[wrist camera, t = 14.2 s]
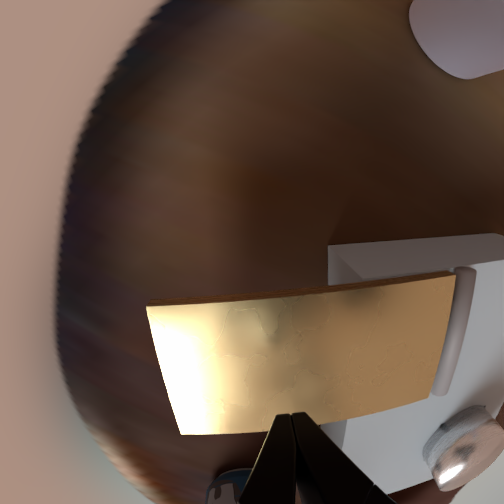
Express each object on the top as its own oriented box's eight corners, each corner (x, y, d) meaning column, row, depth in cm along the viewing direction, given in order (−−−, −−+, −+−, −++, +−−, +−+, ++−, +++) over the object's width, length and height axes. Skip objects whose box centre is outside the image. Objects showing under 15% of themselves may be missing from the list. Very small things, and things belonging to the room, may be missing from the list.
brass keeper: (423, 390, 12) (428, 397, 11) (182, 424, 11) (181, 434, 11) (447, 270, 10) (456, 274, 10) (150, 299, 10) (146, 306, 9)
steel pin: (443, 407, 18) (487, 471, 11) (390, 423, 18) (428, 500, 11) (460, 357, 17) (520, 422, 10) (403, 373, 17) (457, 455, 10)
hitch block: (446, 425, 19) (475, 469, 14) (317, 458, 19) (330, 518, 14) (494, 232, 15) (559, 257, 9) (327, 245, 15) (372, 288, 9)
